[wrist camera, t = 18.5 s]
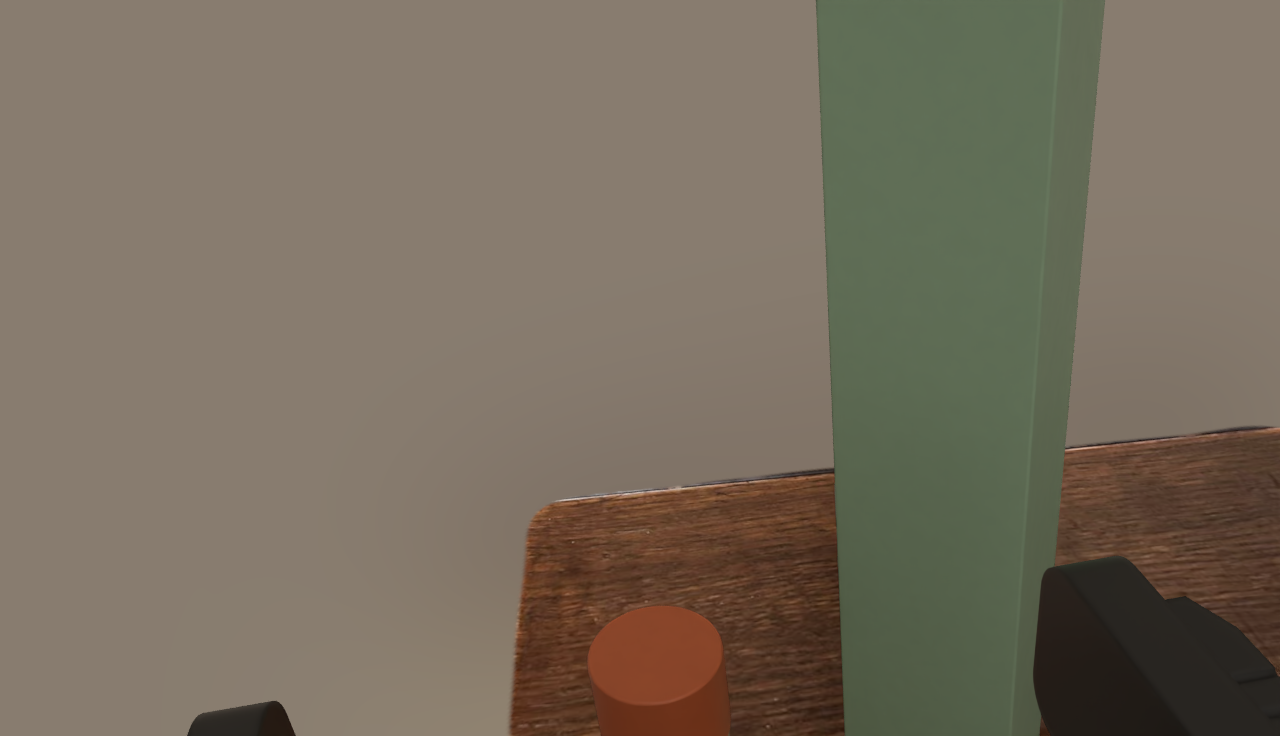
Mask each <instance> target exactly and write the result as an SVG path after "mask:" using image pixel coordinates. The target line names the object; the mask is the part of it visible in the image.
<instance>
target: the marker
mask: <svg viewBox="0 0 1280 736" xmlns="http://www.w3.org/2000/svg"><path fill="white" fill-rule="evenodd" d="M587 667H588V672H589V677H590V682H591V687H592V692H593V697H594V702H595V707H596V712H597V717H598V722H599V727H600V732H601V736H729V731H730V726H731V711H730V702H729V694H728V685H727V676H726V667H725V658H724V649H723V643H722V640H721V637H720V635H719V633H718V631H717V630H716V628H715V627H714V626H713V625H712V624H711V623H710V622H709V621H708V620H707V619H706V618H704V617H703V616H701V615H700V614H698V613H696V612H693V611H691V610H688V609H685V608H681V607H675V606H650V607H644V608H640V609H636V610H633V611H630V612H628V613H625V614H623V615H621V616H619V617H617V618H616V619H614V620H613V621H611V622H610V623H608V624H607V625H606V626H605V627H604V628H603V629H602V630H601V631H600V632H599V633H598V634H597V636H596V637H595V638H594V640H593V642H592V644H591V647H590V649H589V652H588V658H587Z"/></svg>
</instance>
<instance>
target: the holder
mask: <svg viewBox="0 0 1280 736" xmlns="http://www.w3.org/2000/svg"><path fill="white" fill-rule="evenodd" d="M1104 5H1105V0H816V11H817V35H818V62H819V87H820V113H821V138H822V164H823V189H824V215H825V241H826V267H827V291H828V317H829V341H830V368H831V393H832V394H831V395H832V419H833V444H834V471H835V497H836V522H837V548H838V573H839V599H840V624H841V650H842V676H843V701H844V727H845V736H1039V732H1040V721H1041V713H1040V710H1039V707H1038V703H1037V699H1036V695H1035V690H1034V683H1033V666H1034V655H1035V644H1036V633H1037V622H1038V612H1039V601H1040V590H1041V581H1042V577H1043V574H1044V572H1045V571H1046V570H1047V569H1048V568H1051V567H1054V564H1055V553H1056V542H1057V531H1058V520H1059V509H1060V497H1061V486H1062V475H1063V464H1064V453H1065V442H1066V430H1067V419H1068V408H1069V397H1070V386H1071V374H1072V363H1073V352H1074V341H1075V329H1076V318H1077V307H1078V296H1079V285H1080V273H1081V261H1082V251H1083V239H1084V229H1085V218H1086V207H1087V206H1086V205H1087V195H1088V184H1089V172H1090V162H1091V150H1092V140H1093V128H1094V117H1095V106H1096V95H1097V83H1098V72H1099V61H1100V50H1101V39H1102V28H1103V16H1104Z"/></svg>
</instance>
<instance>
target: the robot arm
mask: <svg viewBox="0 0 1280 736" xmlns="http://www.w3.org/2000/svg"><path fill="white" fill-rule="evenodd" d="M1033 683H1034V690H1035V695H1036V699H1037V703H1038V707H1039V710H1040V713H1041V715H1042V718H1043V720H1044V723H1045V725H1046V727H1047V729H1048V731H1049V733H1050V735H1051V736H1280V677H1278V675H1277V674H1276V671H1275V667H1274V666H1273V665H1272V664H1271V663H1270V662H1269V661H1268V660H1267V659H1266V658H1265V657H1264V655H1263V654H1262V653H1261V652H1260V651H1259V650H1258V649H1257V648H1256V647H1255V646H1254V645H1253V644H1252V643H1251V642H1250V641H1249V640H1248V638H1247V637H1246V636H1245V635H1244V634H1243V633H1242V632H1241V631H1240V630H1239V629H1238V628H1237V627H1236V626H1234V625H1232V624H1231V623H1229V622H1227V621H1226V620H1224V619H1222V618H1221V617H1219V616H1217V615H1216V614H1214V613H1212V612H1211V611H1209V610H1207V609H1206V608H1204V607H1202V606H1201V605H1199V604H1197V603H1196V602H1194V601H1192V600H1191V599H1189V598H1187V597H1186V596H1184V597H1178V598H1173V599H1167V600H1164V598H1163V597H1162V596H1161V595H1160V594H1159V593H1158V592H1157V590H1156V589H1155V588H1154V587H1153V586H1152V585H1151V584H1150V582H1149V581H1148V580H1147V579H1146V578H1145V577H1144V576H1143V574H1142V573H1141V572H1140V571H1139V570H1138V569H1137V568H1136V567H1135V566H1134V565H1133V564H1132V563H1131V562H1130V561H1129V560H1127V559H1126V558H1124V557H1122V556H1113V557H1107V558H1101V559H1096V560H1090V561H1084V562H1079V563H1073V564H1067V565H1061V566H1056V567H1051V568H1048V569H1047V570H1046V571H1045V572H1044V574H1043V577H1042V581H1041V590H1040V601H1039V612H1038V622H1037V633H1036V644H1035V655H1034V666H1033ZM187 736H296V735H295V733H294V730H293V728H292V726H291V723H290V721H289V718H288V716H287V713H286V711H285V709H284V708H283V706H282V705H281V704H280V703H279V702H277V701H271V702H265V703H259V704H254V705H247V706H242V707H236V708H230V709H224V710H219V711H213V712H207V713H202V714H200V715H198V716H197V717H196V719H195V720H194V721H193V723H192V725H191V727H190V729H189V732H188V735H187Z"/></svg>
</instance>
